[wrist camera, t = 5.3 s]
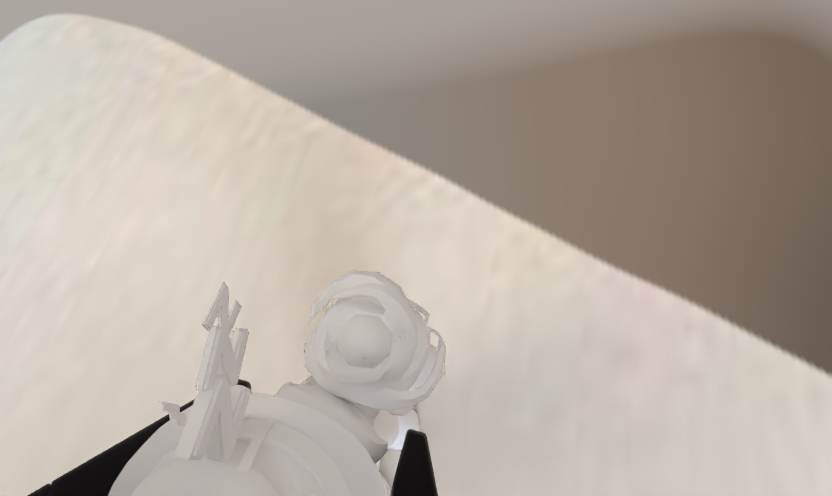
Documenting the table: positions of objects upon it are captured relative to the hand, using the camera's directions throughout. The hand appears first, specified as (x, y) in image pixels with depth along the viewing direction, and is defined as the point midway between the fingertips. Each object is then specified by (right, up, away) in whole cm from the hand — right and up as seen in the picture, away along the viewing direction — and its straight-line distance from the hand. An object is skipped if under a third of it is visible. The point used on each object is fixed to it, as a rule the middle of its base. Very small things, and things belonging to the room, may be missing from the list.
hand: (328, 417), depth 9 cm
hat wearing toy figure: (0, -4, +6) cm, 7 cm away
